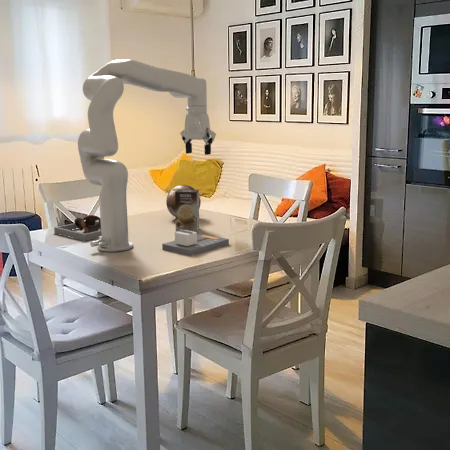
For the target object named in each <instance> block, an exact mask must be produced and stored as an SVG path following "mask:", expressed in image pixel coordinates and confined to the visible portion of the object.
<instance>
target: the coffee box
mask: <svg viewBox="0 0 450 450" xmlns="http://www.w3.org/2000/svg"><path fill="white" fill-rule="evenodd" d="M199 191H200V190H199V189H195V190H186V189H177V190H176V192H175V218H174V219H175V232H179V230H180V229H181V230H188V231H193V232H197V231H199V229H200V208H199V196H200V192H199Z"/></svg>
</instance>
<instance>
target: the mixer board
mask: <svg viewBox="0 0 450 450" xmlns="http://www.w3.org/2000/svg"><path fill="white" fill-rule="evenodd" d="M228 245H230V239H229V238H225V237H219V236H214V235H212V234H211V235H210V234H205V233H197V244H193V245H190V246H184V245H180V244H175V240H172V241H168V242H164V243H162V244H161V247H162V248H161V249H162V251H163V250H164V251H169V252H172V253H178V254H180V255H186V256H188V257H189V256H190V257H192V256H196V255H198V254H201V253H205V252H209V251H212V250H215V249H218V248H222V247H225V246H228Z"/></svg>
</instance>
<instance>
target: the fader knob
mask: <svg viewBox="0 0 450 450" xmlns="http://www.w3.org/2000/svg"><path fill="white" fill-rule="evenodd" d="M197 234H198V232H197V231H188V230H181V229H180V230H179V231H175V232H174V241H175V244H180V245H184V246H190V245H193V244H197Z"/></svg>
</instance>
